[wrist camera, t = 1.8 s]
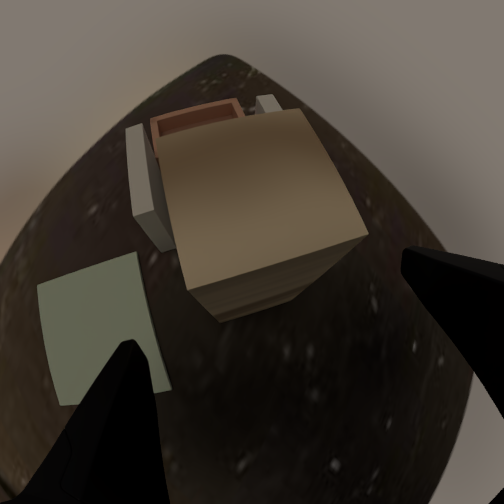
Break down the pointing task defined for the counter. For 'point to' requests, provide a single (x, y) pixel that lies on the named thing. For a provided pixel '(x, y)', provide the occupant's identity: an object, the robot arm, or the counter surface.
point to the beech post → (255, 210)
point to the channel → (159, 181)
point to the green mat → (96, 324)
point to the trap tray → (194, 118)
